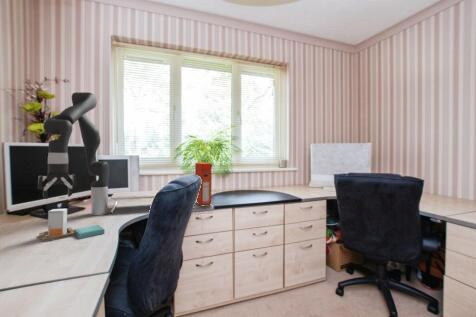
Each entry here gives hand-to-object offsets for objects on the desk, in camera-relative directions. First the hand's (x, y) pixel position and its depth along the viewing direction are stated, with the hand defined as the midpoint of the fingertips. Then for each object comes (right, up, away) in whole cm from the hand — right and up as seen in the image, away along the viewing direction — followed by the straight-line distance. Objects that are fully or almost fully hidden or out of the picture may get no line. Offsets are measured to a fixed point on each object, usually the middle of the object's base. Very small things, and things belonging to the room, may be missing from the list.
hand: (58, 197), depth 107 cm
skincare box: (0, -18, 0) cm, 18 cm away
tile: (+12, -18, +3) cm, 22 cm away
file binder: (+56, -18, +75) cm, 95 cm away
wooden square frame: (0, -18, 0) cm, 18 cm away
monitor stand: (+14, -18, +59) cm, 63 cm away
